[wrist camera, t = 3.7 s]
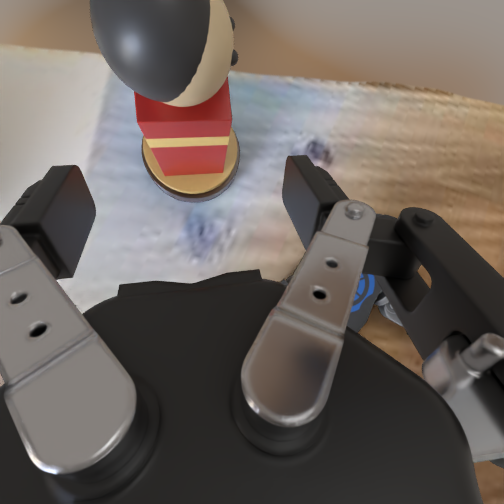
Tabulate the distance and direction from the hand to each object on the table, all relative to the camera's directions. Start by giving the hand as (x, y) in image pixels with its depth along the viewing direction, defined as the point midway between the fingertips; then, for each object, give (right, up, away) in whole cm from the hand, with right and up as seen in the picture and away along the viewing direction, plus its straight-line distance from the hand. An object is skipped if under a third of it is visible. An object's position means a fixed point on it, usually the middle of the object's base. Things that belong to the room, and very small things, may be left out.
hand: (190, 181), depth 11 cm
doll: (-2, +6, +11) cm, 13 cm away
